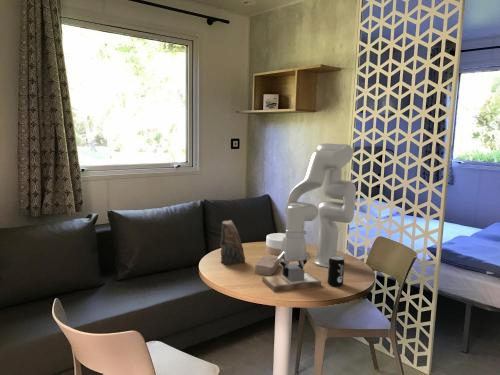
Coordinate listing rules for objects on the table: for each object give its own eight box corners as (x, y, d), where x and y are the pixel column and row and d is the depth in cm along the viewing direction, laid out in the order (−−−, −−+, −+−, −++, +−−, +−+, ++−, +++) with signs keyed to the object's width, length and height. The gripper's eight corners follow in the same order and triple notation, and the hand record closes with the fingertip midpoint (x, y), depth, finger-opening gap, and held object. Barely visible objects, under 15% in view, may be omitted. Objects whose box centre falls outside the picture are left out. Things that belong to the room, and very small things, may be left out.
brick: (271, 276, 177) (272, 266, 176) (253, 273, 179) (254, 264, 179) (279, 265, 193) (280, 256, 192) (263, 263, 195) (263, 254, 194)
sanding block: (293, 274, 173) (294, 263, 172) (303, 281, 165) (304, 270, 164) (281, 276, 171) (282, 264, 170) (291, 283, 162) (291, 271, 162)
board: (307, 276, 177) (307, 271, 177) (321, 286, 166) (321, 281, 166) (262, 281, 169) (262, 276, 169) (273, 291, 158) (273, 286, 158)
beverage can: (333, 288, 165) (335, 260, 163) (324, 282, 170) (325, 255, 169) (346, 286, 167) (347, 259, 166) (336, 280, 173) (338, 254, 172)
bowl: (281, 245, 228) (282, 231, 227) (303, 253, 215) (304, 238, 213) (259, 250, 217) (260, 235, 216) (281, 258, 204) (281, 242, 203)
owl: (224, 266, 187) (225, 225, 185) (211, 259, 198) (212, 220, 195) (246, 262, 194) (247, 223, 192) (233, 255, 205) (234, 218, 202)
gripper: (308, 231, 172) (306, 271, 174) (272, 233, 166) (270, 274, 168) (317, 235, 165) (314, 276, 167) (280, 237, 159) (278, 280, 161)
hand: (292, 275), depth 168 cm, fingers closed on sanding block, 6 cm apart
